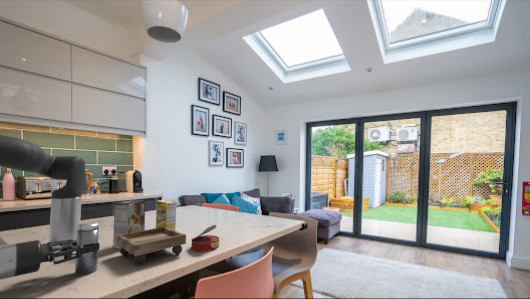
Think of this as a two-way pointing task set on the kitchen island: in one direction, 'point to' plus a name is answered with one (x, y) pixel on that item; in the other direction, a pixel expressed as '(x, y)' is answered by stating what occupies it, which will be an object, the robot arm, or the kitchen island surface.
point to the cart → (150, 242)
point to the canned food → (205, 241)
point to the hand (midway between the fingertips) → (96, 244)
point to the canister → (85, 235)
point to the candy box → (166, 214)
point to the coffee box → (128, 218)
